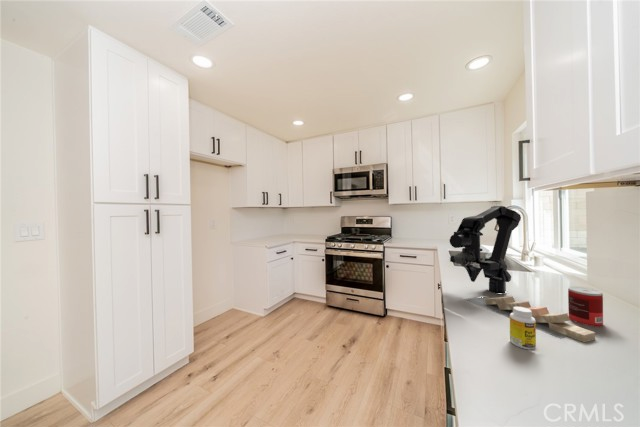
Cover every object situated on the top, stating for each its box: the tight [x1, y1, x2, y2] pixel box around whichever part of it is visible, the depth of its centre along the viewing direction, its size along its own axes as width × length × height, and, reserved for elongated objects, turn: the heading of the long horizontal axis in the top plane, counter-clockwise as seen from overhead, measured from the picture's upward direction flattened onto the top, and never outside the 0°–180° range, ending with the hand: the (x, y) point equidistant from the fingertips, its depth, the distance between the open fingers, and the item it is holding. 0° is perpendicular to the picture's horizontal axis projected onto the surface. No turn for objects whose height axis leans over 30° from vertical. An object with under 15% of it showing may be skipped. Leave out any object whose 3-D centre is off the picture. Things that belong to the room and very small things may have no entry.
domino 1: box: [484, 295, 516, 305], centre depth 89 cm, size 2×5×8 cm
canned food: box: [567, 286, 604, 327], centre depth 77 cm, size 8×8×11 cm
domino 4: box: [532, 312, 571, 323], centre depth 75 cm, size 2×5×8 cm
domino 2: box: [498, 301, 532, 310], centre depth 85 cm, size 2×5×8 cm
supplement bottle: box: [509, 307, 537, 350], centre depth 65 cm, size 6×6×10 cm
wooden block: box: [549, 321, 596, 343], centre depth 70 cm, size 2×5×8 cm
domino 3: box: [512, 306, 550, 316], centre depth 80 cm, size 2×5×8 cm
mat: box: [463, 296, 569, 339], centre depth 84 cm, size 12×32×1 cm, turn 17°
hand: (472, 281), depth 101 cm, fingers closed
